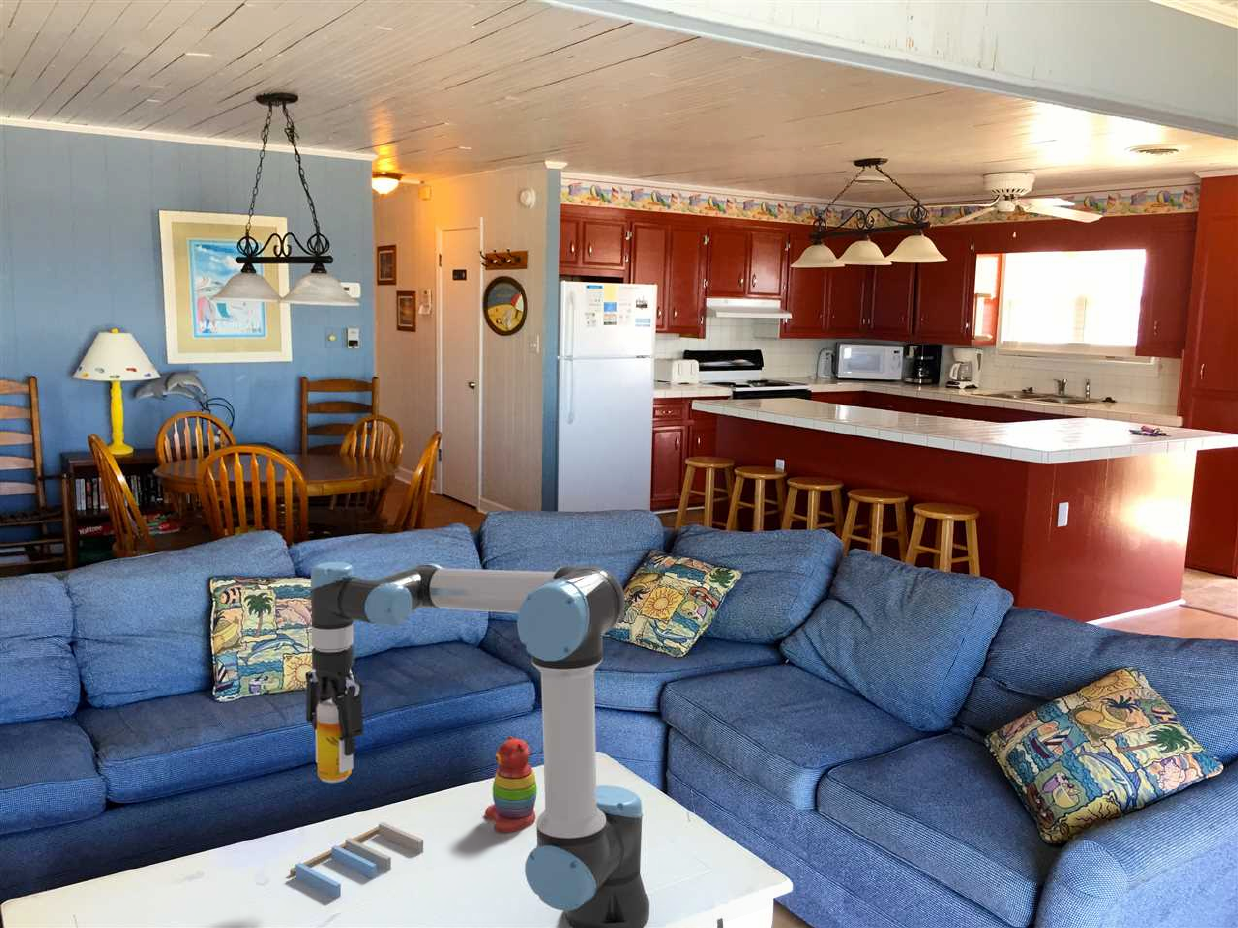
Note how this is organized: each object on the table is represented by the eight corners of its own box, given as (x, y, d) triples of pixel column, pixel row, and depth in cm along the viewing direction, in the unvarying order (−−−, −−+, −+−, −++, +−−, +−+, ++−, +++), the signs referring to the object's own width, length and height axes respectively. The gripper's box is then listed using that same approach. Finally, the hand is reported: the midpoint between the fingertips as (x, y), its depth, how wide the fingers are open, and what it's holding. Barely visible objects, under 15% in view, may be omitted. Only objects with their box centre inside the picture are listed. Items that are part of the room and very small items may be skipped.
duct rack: (423, 851, 202) (423, 839, 202) (336, 898, 185) (336, 885, 185) (377, 830, 210) (377, 819, 210) (290, 874, 193) (290, 862, 192)
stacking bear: (482, 812, 219) (483, 734, 217) (526, 804, 224) (527, 727, 221) (498, 835, 210) (498, 753, 207) (543, 826, 214) (544, 746, 212)
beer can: (342, 785, 186) (341, 708, 184) (311, 782, 187) (310, 704, 185) (357, 772, 192) (356, 696, 190) (327, 768, 193) (326, 693, 191)
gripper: (383, 651, 184) (384, 772, 187) (316, 631, 195) (318, 745, 198) (350, 661, 178) (352, 786, 181) (283, 640, 189) (286, 758, 192)
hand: (334, 764), depth 189 cm, fingers closed on beer can, 6 cm apart
